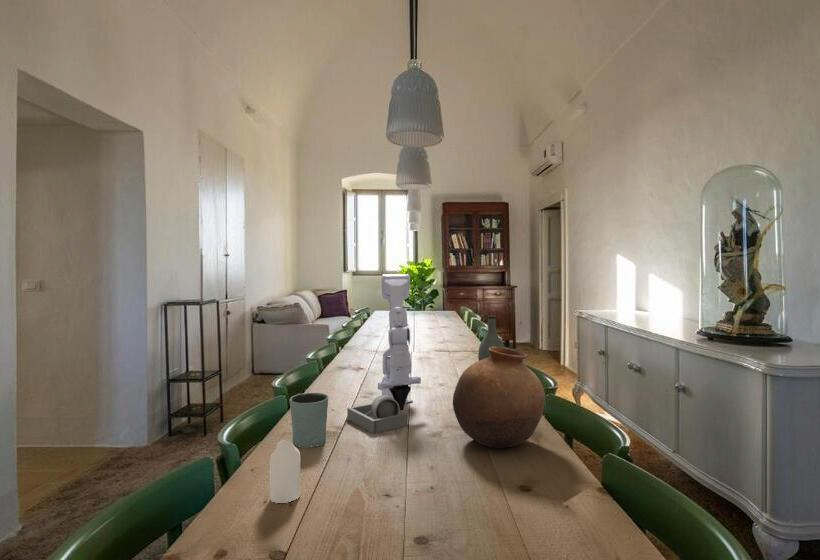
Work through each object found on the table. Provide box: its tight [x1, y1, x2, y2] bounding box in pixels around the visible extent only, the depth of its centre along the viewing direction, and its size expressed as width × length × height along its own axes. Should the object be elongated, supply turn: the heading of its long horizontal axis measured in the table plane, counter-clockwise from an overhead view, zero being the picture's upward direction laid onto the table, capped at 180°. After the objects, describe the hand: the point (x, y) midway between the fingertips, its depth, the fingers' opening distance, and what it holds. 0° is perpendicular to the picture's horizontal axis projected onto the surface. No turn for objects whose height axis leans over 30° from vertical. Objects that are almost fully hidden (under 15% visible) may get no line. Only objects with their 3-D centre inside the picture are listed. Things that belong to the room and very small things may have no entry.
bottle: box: [477, 314, 506, 361], centre depth 160 cm, size 9×9×30 cm
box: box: [346, 402, 409, 434], centre depth 144 cm, size 16×12×4 cm
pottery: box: [452, 347, 546, 449], centre depth 125 cm, size 23×23×25 cm
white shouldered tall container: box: [269, 439, 302, 504], centre depth 97 cm, size 6×12×6 cm
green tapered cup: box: [289, 392, 329, 448], centre depth 128 cm, size 10×10×12 cm
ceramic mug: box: [365, 394, 401, 420], centre depth 145 cm, size 11×8×8 cm
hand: (400, 409), depth 149 cm, fingers closed
